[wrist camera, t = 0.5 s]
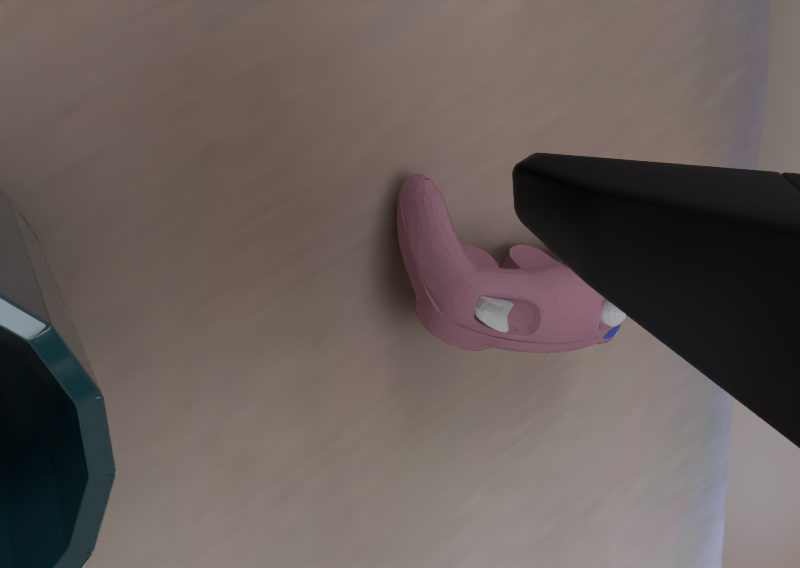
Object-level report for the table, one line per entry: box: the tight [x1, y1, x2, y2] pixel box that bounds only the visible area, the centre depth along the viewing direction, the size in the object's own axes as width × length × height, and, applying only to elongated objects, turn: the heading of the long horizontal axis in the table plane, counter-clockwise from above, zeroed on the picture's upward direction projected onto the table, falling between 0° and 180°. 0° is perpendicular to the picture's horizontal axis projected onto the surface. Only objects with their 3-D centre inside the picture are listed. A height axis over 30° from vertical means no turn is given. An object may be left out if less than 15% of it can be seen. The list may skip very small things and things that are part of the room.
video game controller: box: [397, 174, 626, 353], centre depth 28 cm, size 10×5×7 cm, turn 82°
